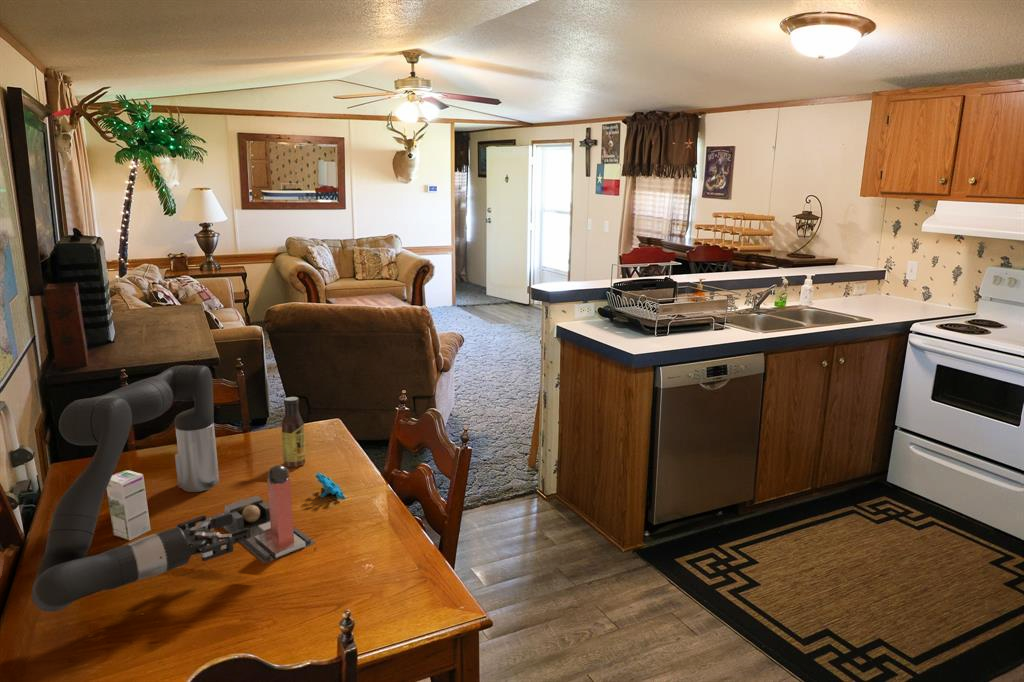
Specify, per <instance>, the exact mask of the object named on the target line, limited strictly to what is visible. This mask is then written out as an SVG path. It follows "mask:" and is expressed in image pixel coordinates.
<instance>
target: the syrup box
mask: <svg viewBox="0 0 1024 682" xmlns="http://www.w3.org/2000/svg"><path fill="white" fill-rule="evenodd" d="M106 492H107V493H106V494H107V500H108V505H109V506H108V507H109V513H110V519H111V526H112V527H111V528H112V534H113V536H115V537H118V538H121V539H123V540H127V541H133V539H136V538H138V537H141V536H143V535H144V534H146V533H148V532H150V531H151V522H150V517H149V508H148V500H147V494H146V487H145V478H144V474H143V473H140V472H135V471H133V470H129V469H126V470H123V471H120V472H116V473H115V474H114V473H113V475H112V477H111V479H110V482H109V484H108V486H107V489H106Z"/></svg>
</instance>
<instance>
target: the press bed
mask: <svg viewBox="0 0 1024 682" xmlns="http://www.w3.org/2000/svg"><path fill="white" fill-rule="evenodd" d="M249 505H255V506H257V507H258V508H259V510H260V516H259V518H258V519H257V520H256V521H255V522H246V521H245V520H244V519H243V516H242V512H243V510H244V509H245V508H246V507H247V506H249ZM228 513H230V514H232V517H233V522H232V524H229V525H226V526H223V527H222V528H223V529H225V531H227V532H228V534H231V533H232V532H235V531H238V530H241V529H244V528H249V529H250V535H251V536H250V538H249V539H246V540H244V541H241V542H239V543H240V544H242V545H243V546H244V547H245V548H246V549H247V550H248V551H249V552H251V554H253V555H254V556H255V557H256V558H258V559H259V560H260V562H262V563H263V564H267V563H270V562H273V561H275V560H277V559H280V558H283V557H284V556H288V555H290V554H292V553H295V552H297V551H299V550H303V549H305V548H308V547H310V546H312V545H315V544H316V542H315V541H314V540H313V539H311V538H310V536H308V535H307V534H305V533H304V532H302V531H301V530H300V529H298V528H297V527H296V526H294V525H293V531H294V534H295V535H297V536H298V537H299V538H301V539H302V540H303V541H305V543H306V546H305V547H303V548H300V549H298V550H295V551H293V552H290V553H287V554H285V555H282V556H280V557H277V558H275V557H274V556H273V555H271V554H270V553H269V552H268V551H267V550H265V549H264V548H263V547H262V546H261V545H260V544H258V543H257V542H256V541H255V536H257V535H259V530H258V526H259V525H262V524H264V523H267V522H270V511H269V503H268V502H266V501H264V500H263V498H262V497H260V496H259V495H254V496H250V497H249V498H245V499H241V500H238V501H235V502H233V503H229V504H227V505H224V512H223V513H218V514H216V515H213V516H211V518H216V517H219V516H222V515H225V514H228ZM313 550H314V551H315V550H317V547H315V548H314V549H313Z"/></svg>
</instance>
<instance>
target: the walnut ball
mask: <svg viewBox="0 0 1024 682" xmlns="http://www.w3.org/2000/svg"><path fill="white" fill-rule="evenodd" d="M242 516H243V519H244V520H245V521H246V522H255V521H256V520H257V519H258V518H259V516H260V510H259V508H258V507H257V506H255V505H249V506H247V507H246V508H245V509H244V510H243V512H242Z"/></svg>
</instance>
